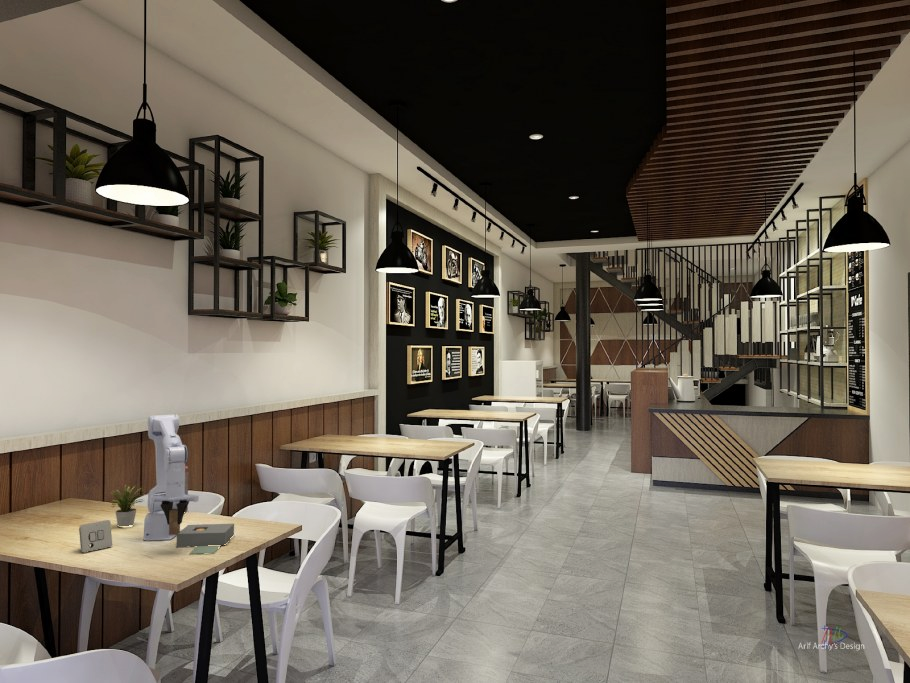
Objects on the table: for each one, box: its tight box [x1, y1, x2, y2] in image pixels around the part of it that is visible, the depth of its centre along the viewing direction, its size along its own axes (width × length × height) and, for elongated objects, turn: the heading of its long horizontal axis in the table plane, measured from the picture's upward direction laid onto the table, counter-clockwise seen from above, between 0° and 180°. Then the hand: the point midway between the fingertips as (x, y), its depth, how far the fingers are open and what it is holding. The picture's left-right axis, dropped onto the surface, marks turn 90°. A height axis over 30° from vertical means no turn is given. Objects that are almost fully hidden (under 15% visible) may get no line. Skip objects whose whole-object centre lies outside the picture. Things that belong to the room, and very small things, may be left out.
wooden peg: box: [169, 509, 181, 536], centre depth 201 cm, size 3×3×8 cm
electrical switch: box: [78, 519, 113, 553], centre depth 204 cm, size 9×5×9 cm, turn 141°
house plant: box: [109, 484, 149, 526], centre depth 231 cm, size 14×14×16 cm
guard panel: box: [175, 523, 235, 548], centre depth 212 cm, size 16×12×4 cm
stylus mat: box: [188, 546, 219, 555], centre depth 202 cm, size 8×8×1 cm
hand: (174, 523), depth 201 cm, fingers closed on wooden peg, 3 cm apart
